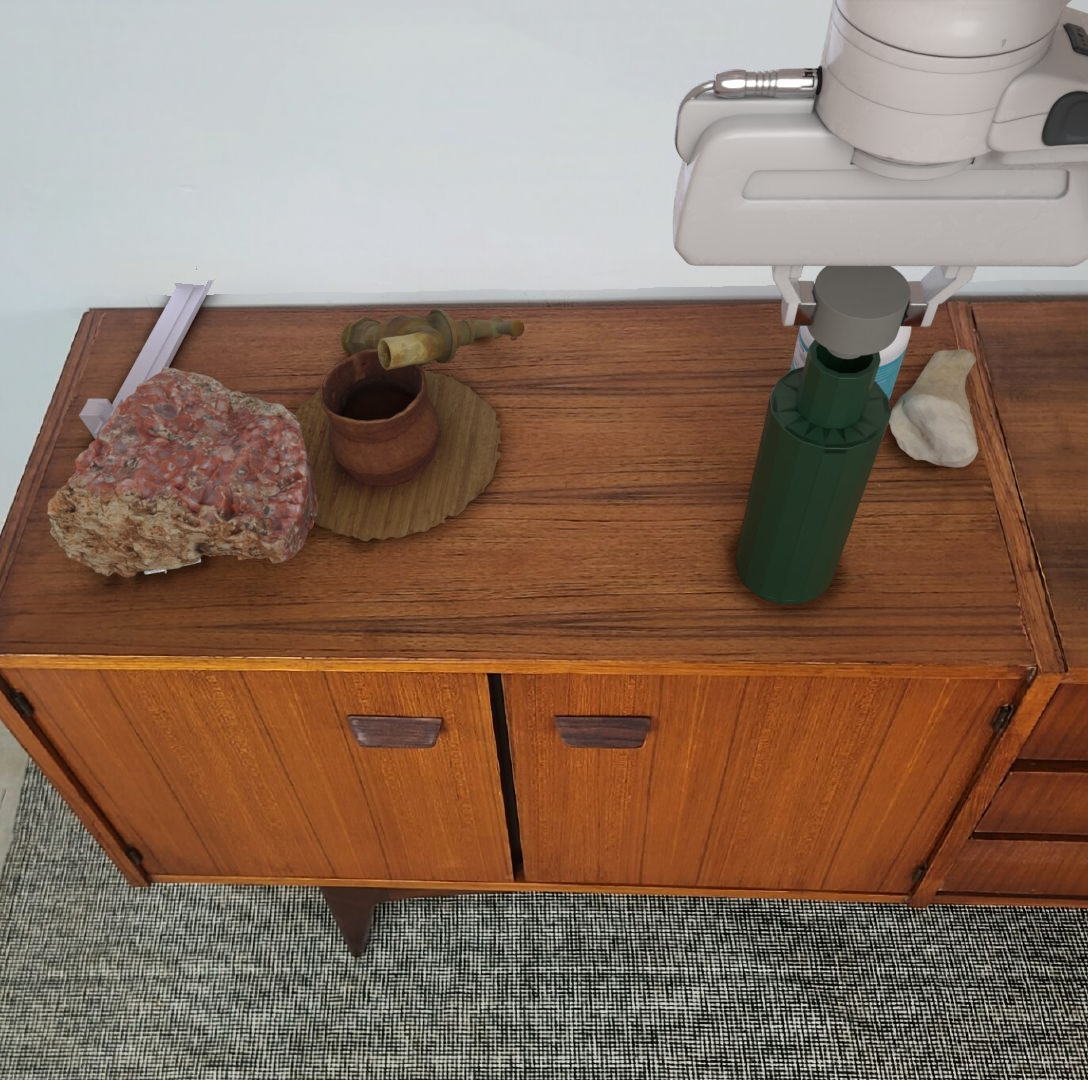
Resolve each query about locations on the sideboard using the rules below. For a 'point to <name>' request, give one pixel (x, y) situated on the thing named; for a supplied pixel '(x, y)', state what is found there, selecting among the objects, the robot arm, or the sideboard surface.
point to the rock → (187, 481)
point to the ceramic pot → (395, 447)
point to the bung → (858, 309)
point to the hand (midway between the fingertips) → (854, 318)
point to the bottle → (810, 474)
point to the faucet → (421, 337)
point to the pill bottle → (888, 356)
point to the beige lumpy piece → (938, 413)
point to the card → (162, 570)
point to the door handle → (152, 351)
